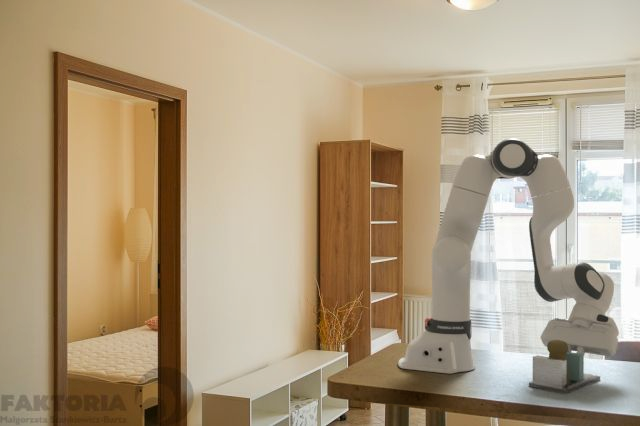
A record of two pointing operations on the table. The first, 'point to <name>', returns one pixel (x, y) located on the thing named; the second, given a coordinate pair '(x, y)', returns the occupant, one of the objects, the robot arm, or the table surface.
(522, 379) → the table surface
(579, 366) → the block
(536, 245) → the robot arm
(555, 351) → the cork
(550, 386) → the vise base
